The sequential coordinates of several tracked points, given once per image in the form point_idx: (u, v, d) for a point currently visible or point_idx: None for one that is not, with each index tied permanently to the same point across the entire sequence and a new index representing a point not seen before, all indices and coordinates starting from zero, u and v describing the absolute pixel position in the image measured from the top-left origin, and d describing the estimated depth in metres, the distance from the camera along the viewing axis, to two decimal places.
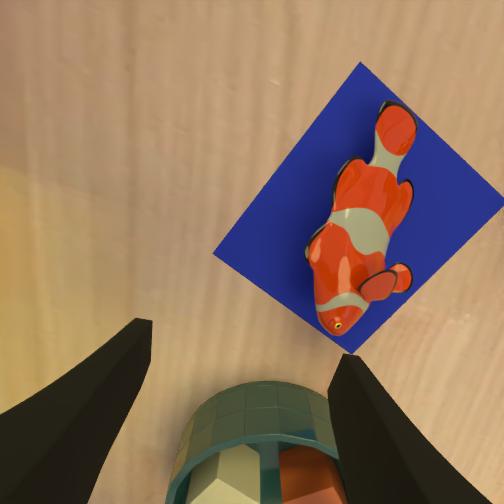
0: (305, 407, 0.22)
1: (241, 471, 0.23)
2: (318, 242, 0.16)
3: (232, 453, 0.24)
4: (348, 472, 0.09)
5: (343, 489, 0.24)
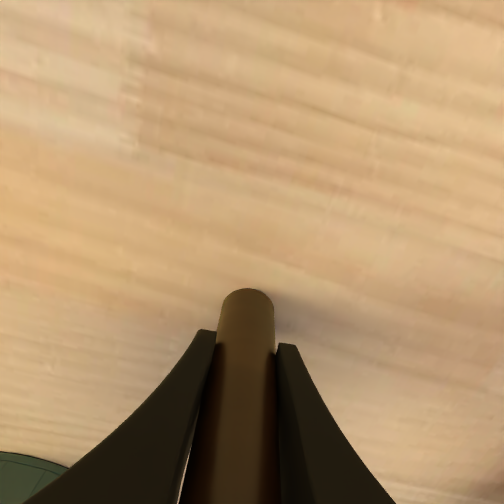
0: None
1: None
2: None
3: None
4: None
5: None
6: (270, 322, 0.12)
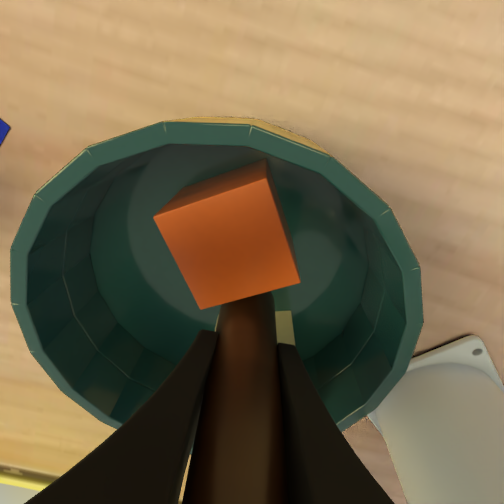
0: None
1: None
2: None
3: None
4: None
5: (258, 168, 0.11)
6: (266, 308, 0.12)
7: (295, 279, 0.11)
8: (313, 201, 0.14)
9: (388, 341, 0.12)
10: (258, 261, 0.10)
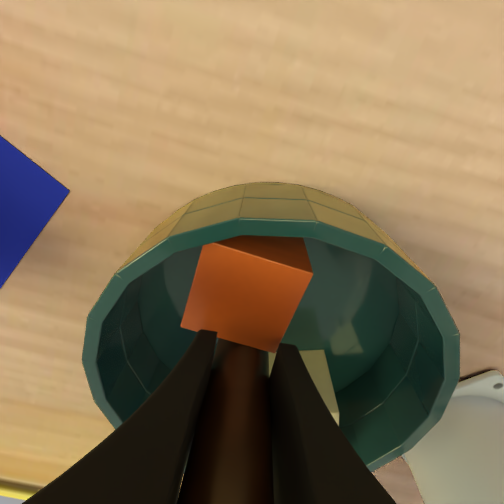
0: None
1: None
2: None
3: None
4: (273, 460, 0.09)
5: (299, 245, 0.12)
6: None
7: (273, 349, 0.12)
8: (350, 255, 0.15)
9: (423, 389, 0.13)
10: (257, 322, 0.12)
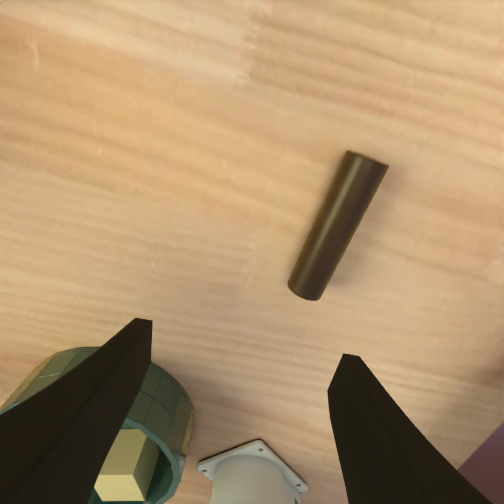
0: None
1: (119, 456, 0.26)
2: None
3: (113, 445, 0.27)
4: (348, 472, 0.09)
5: None
6: (316, 279, 0.18)
7: None
8: None
9: None
10: None
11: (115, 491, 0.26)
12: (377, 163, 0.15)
